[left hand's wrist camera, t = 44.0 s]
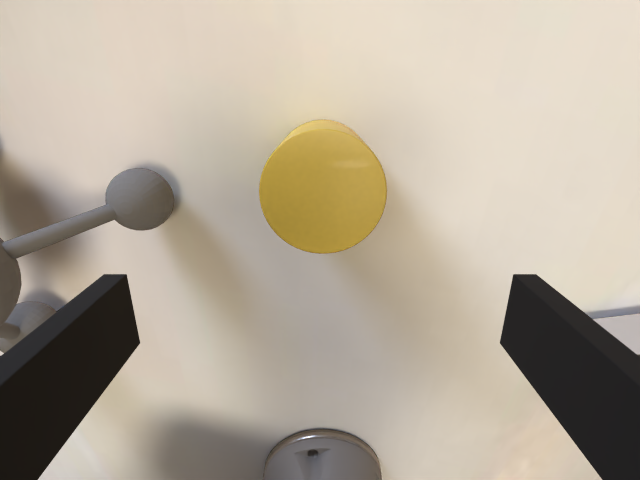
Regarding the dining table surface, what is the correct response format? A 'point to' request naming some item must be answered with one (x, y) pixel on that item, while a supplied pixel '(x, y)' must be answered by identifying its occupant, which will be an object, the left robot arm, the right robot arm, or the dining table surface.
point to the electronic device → (624, 329)
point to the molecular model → (121, 205)
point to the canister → (322, 188)
